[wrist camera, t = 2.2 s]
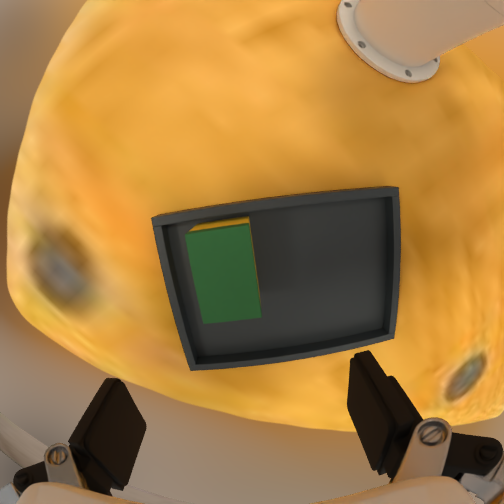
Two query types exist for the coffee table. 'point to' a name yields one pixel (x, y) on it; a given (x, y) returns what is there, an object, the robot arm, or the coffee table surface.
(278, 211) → the tray
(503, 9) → the robot arm
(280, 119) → the coffee table surface
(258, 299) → the sponge
